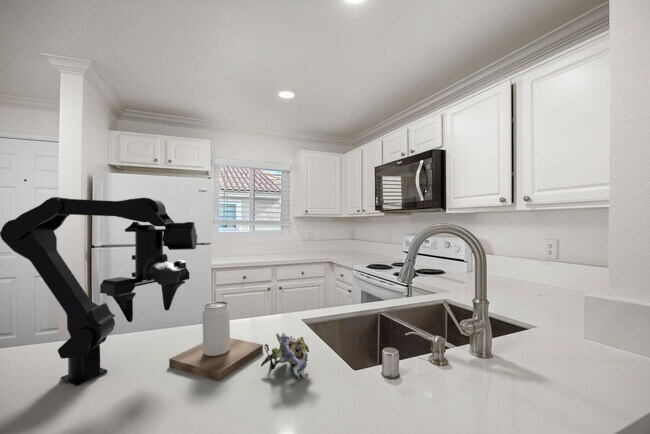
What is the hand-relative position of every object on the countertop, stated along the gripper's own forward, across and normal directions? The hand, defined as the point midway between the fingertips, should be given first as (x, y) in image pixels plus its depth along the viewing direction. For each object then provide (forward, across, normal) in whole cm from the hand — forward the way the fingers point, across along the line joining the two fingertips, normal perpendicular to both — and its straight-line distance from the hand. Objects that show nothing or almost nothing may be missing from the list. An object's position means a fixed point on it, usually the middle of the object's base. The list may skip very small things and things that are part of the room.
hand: (149, 315), depth 71 cm
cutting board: (+13, +11, -11) cm, 20 cm away
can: (+11, +11, -11) cm, 19 cm away
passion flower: (+13, +11, -31) cm, 35 cm away
